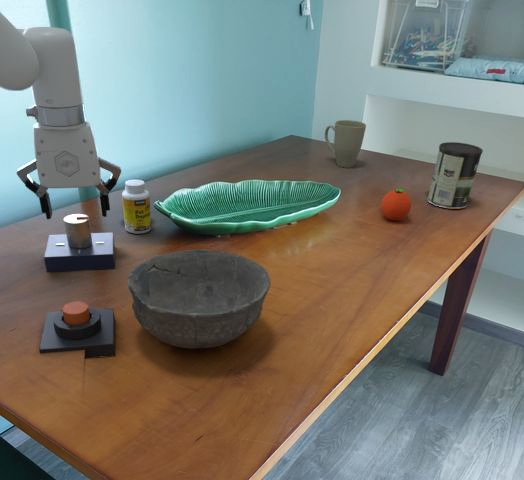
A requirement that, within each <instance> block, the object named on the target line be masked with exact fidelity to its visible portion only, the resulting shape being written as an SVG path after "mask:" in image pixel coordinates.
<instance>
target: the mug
mask: <svg viewBox="0 0 524 480" xmlns="http://www.w3.org/2000/svg"><path fill="white" fill-rule="evenodd" d="M366 128H367V124H366V123H365V122H362V121H358V120H352V119H350V120H349V119H342V120H336V121H335V122H334V125H333V124H332V125H328V126H327V127H326V128H325V131H324V140H325V143H326V144H327V146H328V148H329V149H330V151H331V152H332V154H334V156H335V161H336V166H337V165H338V166H337V167H339V166H340V168H343V167H344V169H350V168H353V167H354V165H355V163H356V160H357V158H358V156H359V154H360V152H361V149H362V146H363V142H364V137H365V132H366ZM330 129H331V130H333V131H334V136H333V146H332V144H331V142H330V140H329V135H328V134H329V131H330Z"/></svg>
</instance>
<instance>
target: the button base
mask: <svg viewBox="0 0 524 480" xmlns="http://www.w3.org/2000/svg"><path fill="white" fill-rule="evenodd" d="M88 308H89V314H90V320H89V321H88V322H86V323H83V324H80V325H69V324H66V323H65V321H64V316H63V311H62V309H61V310H59V311H50V312H49V311H48V312H45V313H46V314H45V318H44V322H43V323H44V324H43V329H42V333H41V340H40V345H39V350H38V351H39V354H50V353H61V352H75V351H84V357H83V359H93V358H92V357H96V358H101V357H100V356H108V357H112V356H111V355H115V356H116V316H115V309H114V307H110V308H109V307H108V308H98V309H97V308H95V307H91V306H88Z"/></svg>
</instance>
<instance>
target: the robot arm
mask: <svg viewBox="0 0 524 480" xmlns="http://www.w3.org/2000/svg"><path fill="white" fill-rule="evenodd" d="M81 87H82V85H81V80H80V72H79V64H78V58H77V51H76V44H75V39H74V37H73V34H72V33H71V32H70V31H69V30H68V29H65V28H63V27H55V26H37V27H36V26H34V27H28V28H17V27H16V26H15V25H14V24H13V23H12V22H11V21H10V20H9V19H8V18H7V17H6V16H5V15H4V14H3V13H2V12H1V11H0V89H2V90H5V91H8V92H14V93H17V92H24V91H27V90H28V89H30V88H31V94H32V99H33V105H32V106H30V107H25V114H26V118H33V119H34V120H36V122H35V123H34V124H33V126H32V139H33V150H34V157H35V159H33V160H31V161H30V162H27V164H25V165H22V166H21V167H19V168H18V169H17V170H16V175H17V177H18V178H19V179H20V181H21V182H22V183H23V184H24V186H25V187H26V188H27V189H28V190H29V191H31V192H32V193H34V195H35V196H36V197H37V198H38V200H39V205H40V209H41V213H42V214H45V217H46V220H51V219H52V216H53V209H52V203H51V198H50V193H49V192H48V190H49V189H81V188H83V189H84V188H94V187H95V189H97V190H98V191H99V201H100V209H101V216H102V217H103V218H107V217H108V216H107V215H108V212H109V211H111V206H110V205H111V204H110V197H109V194H110V192H112V190H113V189H114V188H115V187H116V185H117V183H118V181H119V178H120V176H121V174H122V167H121V166H119V165H117V164H115V163H113V162H111V161H108V160H106V159H104V158H101V157H100V156H99V153H98V147H97V144H96V139H95V135H94V132H93V129H92V126H91V124H90V122H89V121H86V114H85V108H84V101H83V93H82V88H81ZM101 169H103V170H106V171H108V172H110V173H111V174H110V175H111V176H110V177H109V178H108V179H107V181H105V180H104V179H103V178H102V176H101ZM34 171H37V177H38V181H39V183H37V182H36V181H35V180H33V178H31V176H30V174H31V173H33V172H34Z"/></svg>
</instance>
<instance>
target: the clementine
mask: <svg viewBox="0 0 524 480" xmlns="http://www.w3.org/2000/svg"><path fill="white" fill-rule="evenodd" d="M380 203H381V204H380V210H381V213H382V214H383V216H384V217H385V218H386V219H389V220H390V221H400V220H403V219H404V218H405V217H408V214H409V213H410V211H411V208H412V200H411V197H410V195H409V194H407V192H406V191H404V189H401V188H400V189H399V188H398V189H393V190H390V191H389V192H387V193H386V194H385V195H384V196H383V198H382V200H381V202H380Z"/></svg>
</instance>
